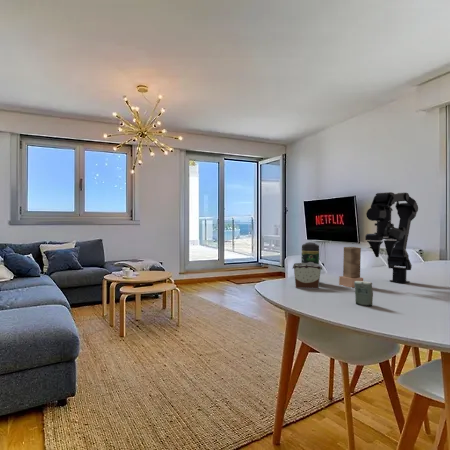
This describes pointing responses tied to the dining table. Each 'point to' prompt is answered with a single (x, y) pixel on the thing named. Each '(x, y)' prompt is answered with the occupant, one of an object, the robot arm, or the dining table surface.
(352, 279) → the terracotta block
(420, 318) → the dining table surface
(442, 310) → the dining table surface
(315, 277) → the food container
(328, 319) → the dining table surface
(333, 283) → the dining table surface
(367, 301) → the grey-green rounded block
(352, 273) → the walnut block
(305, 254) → the coffee jar
